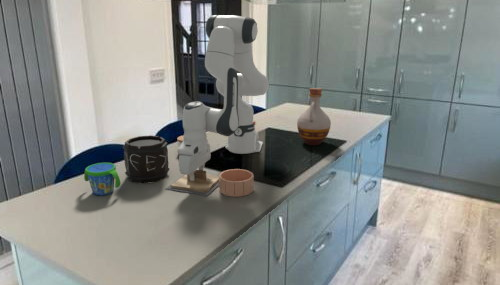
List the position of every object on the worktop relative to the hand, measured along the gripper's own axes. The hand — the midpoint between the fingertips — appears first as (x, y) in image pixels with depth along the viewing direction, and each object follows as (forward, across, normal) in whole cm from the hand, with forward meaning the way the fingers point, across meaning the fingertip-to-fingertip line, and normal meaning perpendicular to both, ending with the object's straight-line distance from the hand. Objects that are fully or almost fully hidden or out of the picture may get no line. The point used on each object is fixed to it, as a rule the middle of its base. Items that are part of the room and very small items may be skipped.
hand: (196, 177), depth 149 cm
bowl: (+3, 0, +17) cm, 17 cm away
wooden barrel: (+3, 0, -23) cm, 23 cm away
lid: (+2, 0, 0) cm, 2 cm away
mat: (+3, 0, 0) cm, 3 cm away
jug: (+3, -70, +34) cm, 78 cm away
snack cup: (+3, +19, -30) cm, 36 cm away
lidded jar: (+3, -34, -22) cm, 41 cm away
